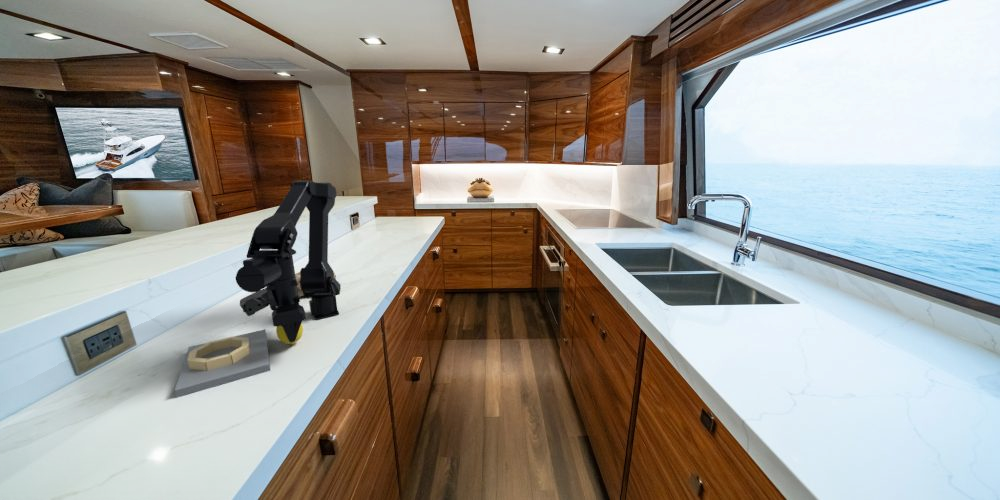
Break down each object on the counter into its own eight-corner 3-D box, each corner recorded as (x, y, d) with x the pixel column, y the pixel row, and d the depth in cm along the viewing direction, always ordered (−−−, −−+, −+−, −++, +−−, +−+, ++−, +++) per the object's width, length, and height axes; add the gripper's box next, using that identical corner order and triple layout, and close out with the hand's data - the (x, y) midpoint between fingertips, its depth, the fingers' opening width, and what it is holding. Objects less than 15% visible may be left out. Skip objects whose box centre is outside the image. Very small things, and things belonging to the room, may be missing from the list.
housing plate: (266, 334, 88) (264, 322, 88) (270, 370, 73) (267, 355, 72) (190, 352, 80) (187, 339, 79) (176, 397, 64) (172, 381, 63)
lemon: (293, 351, 80) (288, 320, 78) (273, 348, 81) (268, 318, 79) (310, 340, 86) (305, 311, 84) (291, 337, 87) (286, 309, 85)
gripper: (239, 273, 82) (250, 331, 86) (237, 296, 67) (251, 365, 71) (292, 265, 88) (300, 320, 92) (301, 285, 74) (310, 349, 77)
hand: (291, 337), depth 83 cm, fingers closed on lemon, 5 cm apart
